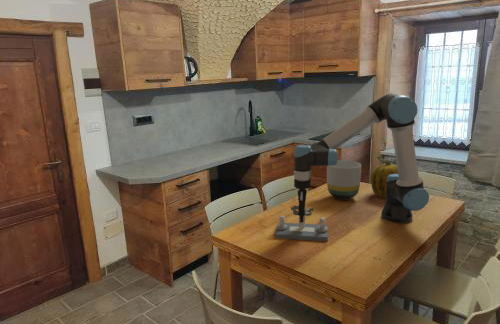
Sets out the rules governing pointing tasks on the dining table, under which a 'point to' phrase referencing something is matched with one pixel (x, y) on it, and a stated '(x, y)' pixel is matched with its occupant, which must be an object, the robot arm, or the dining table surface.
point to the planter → (344, 179)
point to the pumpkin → (382, 177)
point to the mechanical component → (304, 210)
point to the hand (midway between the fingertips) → (301, 226)
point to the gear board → (302, 231)
